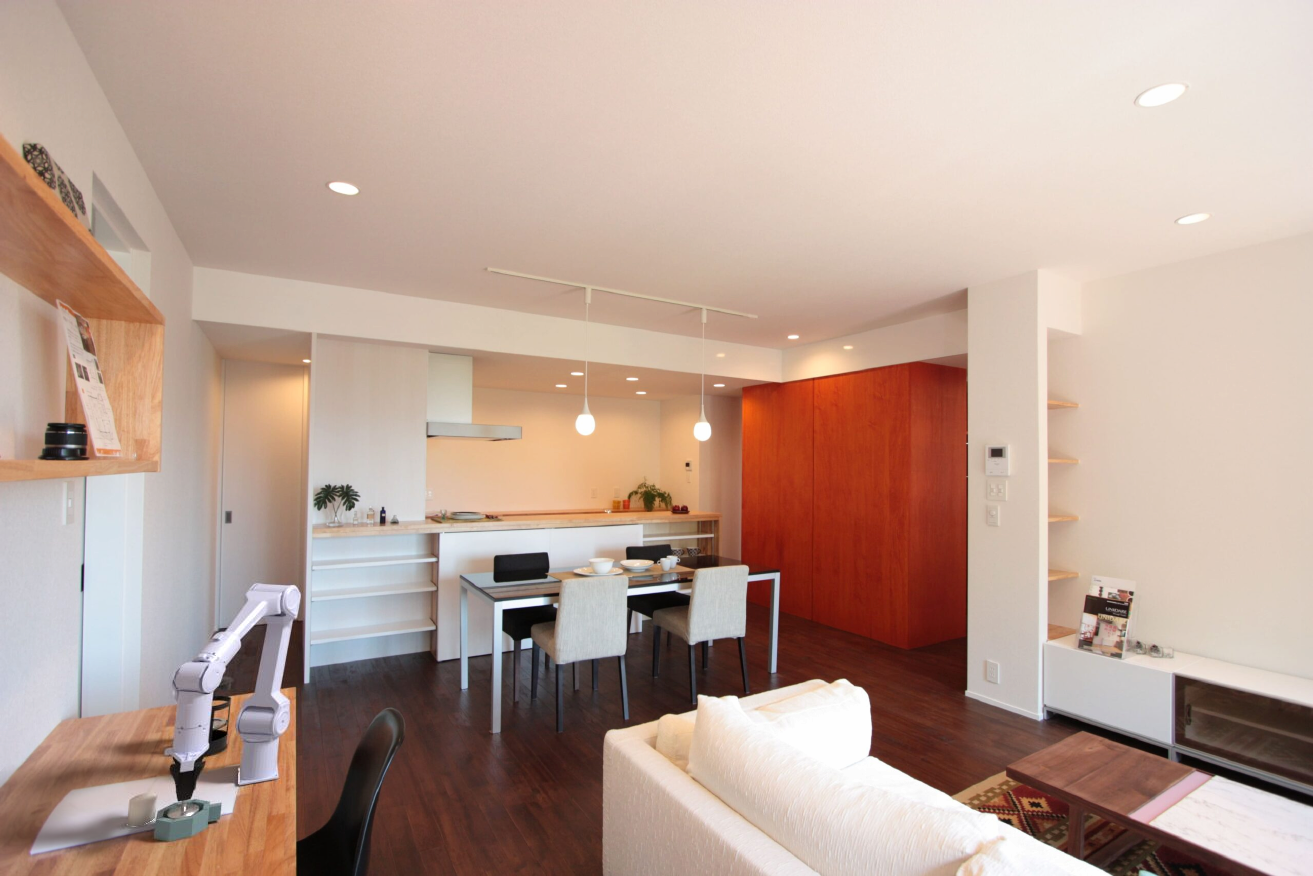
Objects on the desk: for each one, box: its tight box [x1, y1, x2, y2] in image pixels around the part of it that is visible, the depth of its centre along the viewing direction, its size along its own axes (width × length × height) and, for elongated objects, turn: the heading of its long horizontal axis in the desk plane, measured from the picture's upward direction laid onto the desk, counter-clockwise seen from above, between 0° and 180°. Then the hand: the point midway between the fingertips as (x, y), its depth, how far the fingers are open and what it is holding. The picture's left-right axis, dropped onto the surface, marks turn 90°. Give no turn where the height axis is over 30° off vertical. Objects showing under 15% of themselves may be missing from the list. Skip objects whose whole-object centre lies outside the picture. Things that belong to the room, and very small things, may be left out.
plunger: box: [167, 784, 199, 819], centre depth 125 cm, size 5×5×6 cm
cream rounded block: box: [126, 792, 158, 827], centre depth 127 cm, size 4×4×4 cm
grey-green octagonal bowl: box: [153, 798, 223, 842], centre depth 125 cm, size 8×10×4 cm
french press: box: [204, 676, 234, 758], centre depth 161 cm, size 12×9×23 cm
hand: (185, 795), depth 125 cm, fingers open, 4 cm apart
